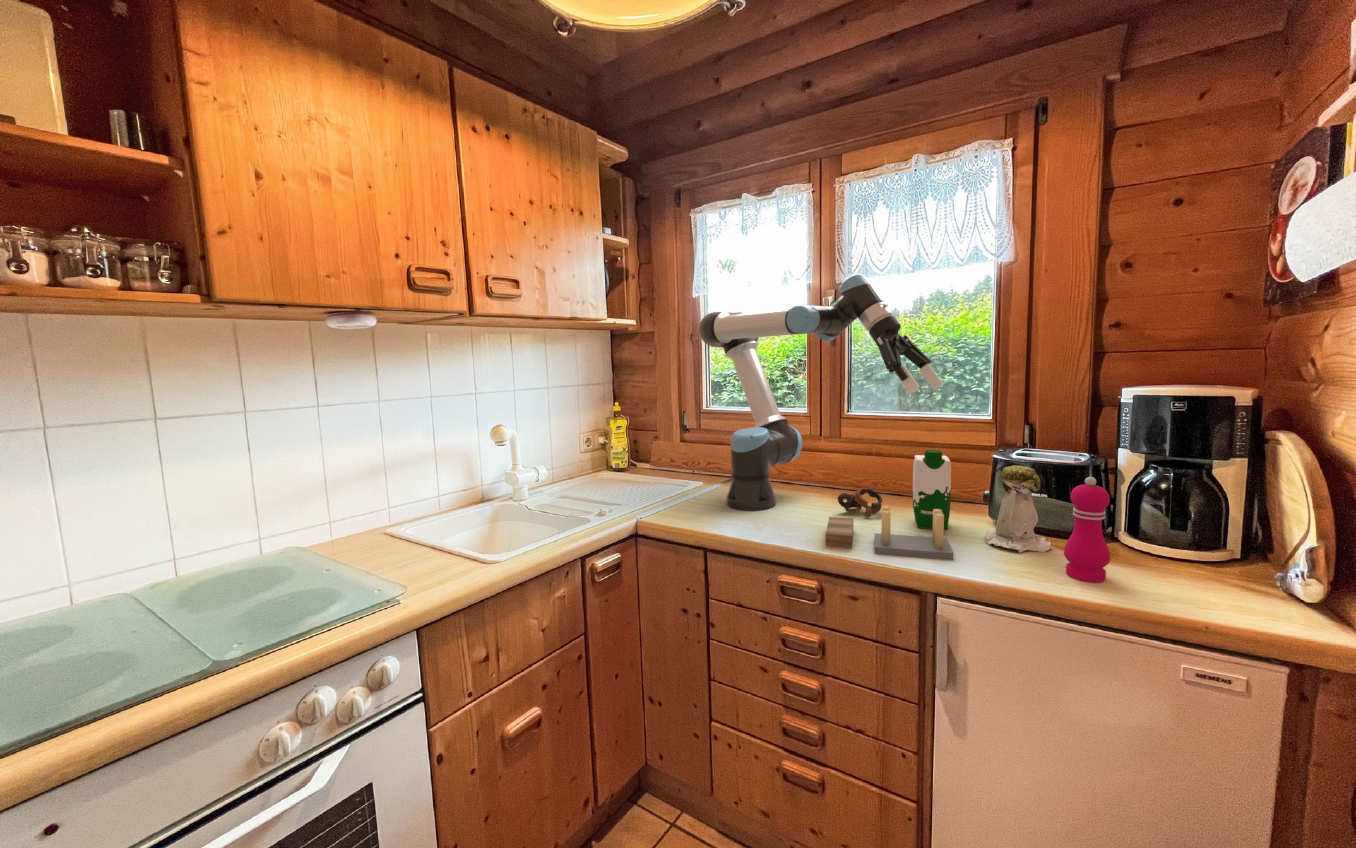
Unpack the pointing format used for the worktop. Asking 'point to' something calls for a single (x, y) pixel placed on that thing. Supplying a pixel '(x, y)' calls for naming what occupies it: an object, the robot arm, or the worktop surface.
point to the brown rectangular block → (839, 532)
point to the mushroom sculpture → (1018, 512)
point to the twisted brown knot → (861, 501)
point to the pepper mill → (1088, 534)
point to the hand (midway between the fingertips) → (926, 388)
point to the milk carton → (931, 487)
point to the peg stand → (913, 540)
